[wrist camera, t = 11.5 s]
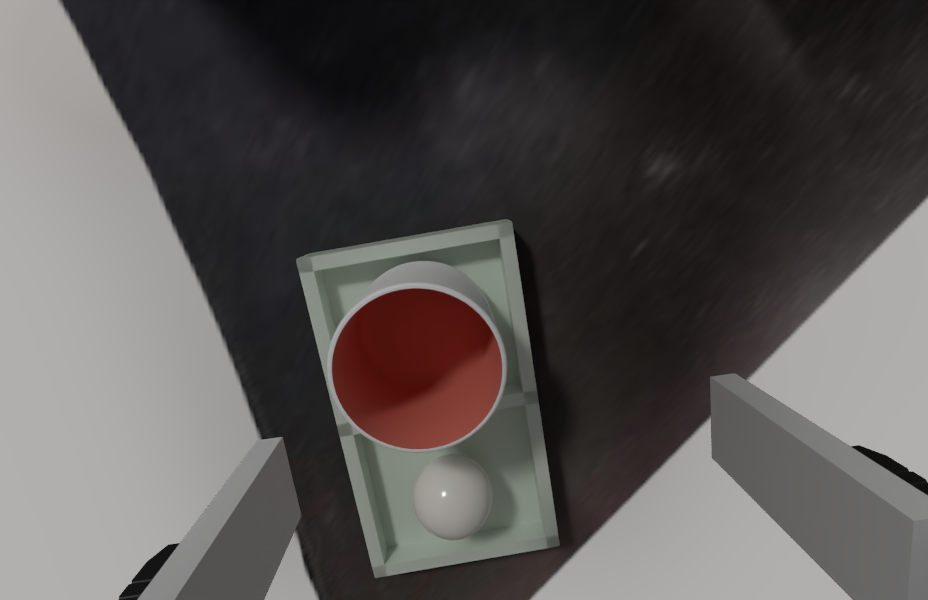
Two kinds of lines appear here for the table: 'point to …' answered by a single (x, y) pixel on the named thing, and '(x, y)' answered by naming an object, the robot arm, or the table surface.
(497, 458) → the holder
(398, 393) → the cup
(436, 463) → the egg
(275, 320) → the table surface
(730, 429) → the robot arm
